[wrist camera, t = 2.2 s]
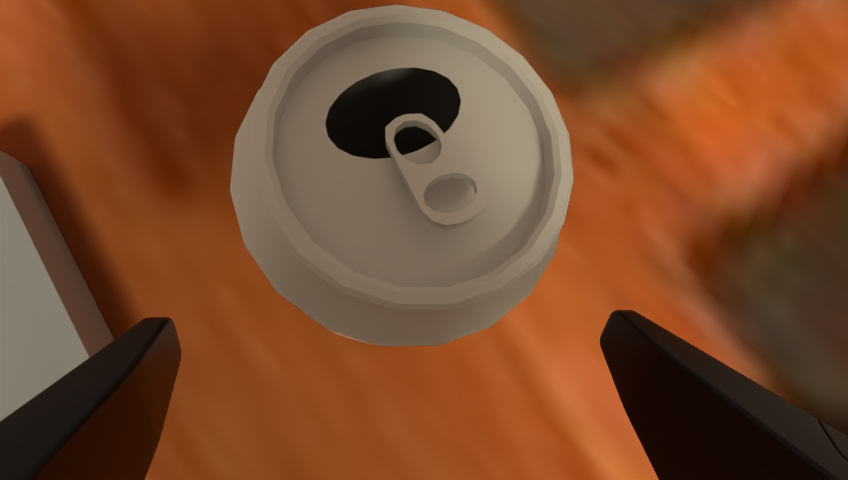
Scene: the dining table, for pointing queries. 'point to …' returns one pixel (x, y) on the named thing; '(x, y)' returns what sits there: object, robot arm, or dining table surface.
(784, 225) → the dining table surface
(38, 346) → the tray
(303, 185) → the can
